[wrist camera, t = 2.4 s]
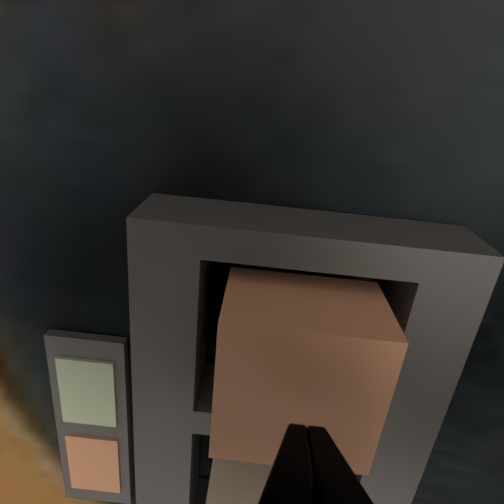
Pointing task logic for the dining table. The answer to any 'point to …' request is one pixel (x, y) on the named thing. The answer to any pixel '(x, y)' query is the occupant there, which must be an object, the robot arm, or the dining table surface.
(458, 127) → the dining table surface
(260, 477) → the key ivory
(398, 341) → the key terracotta
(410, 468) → the keypad frame
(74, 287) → the dining table surface
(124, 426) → the strip
